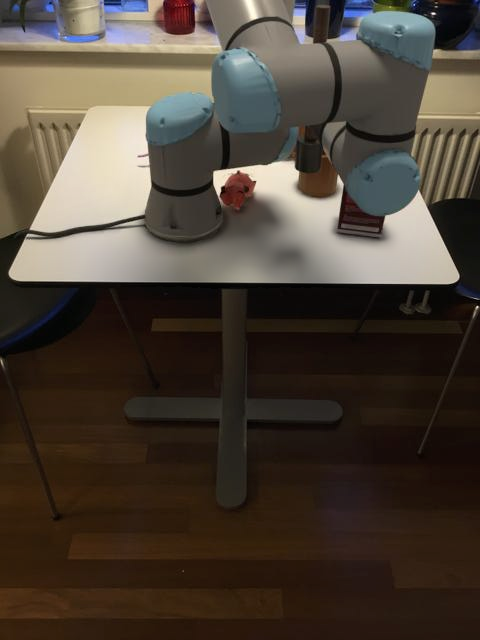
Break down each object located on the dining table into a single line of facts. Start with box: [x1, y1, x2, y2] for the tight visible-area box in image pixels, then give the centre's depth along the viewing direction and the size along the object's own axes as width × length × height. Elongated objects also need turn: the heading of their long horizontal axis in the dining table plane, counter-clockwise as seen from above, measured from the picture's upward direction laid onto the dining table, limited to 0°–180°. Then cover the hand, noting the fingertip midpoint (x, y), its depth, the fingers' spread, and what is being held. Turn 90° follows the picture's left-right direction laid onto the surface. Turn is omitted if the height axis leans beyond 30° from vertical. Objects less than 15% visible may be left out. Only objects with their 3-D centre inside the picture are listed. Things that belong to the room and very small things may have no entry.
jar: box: [297, 151, 339, 198], centre depth 118 cm, size 8×8×9 cm
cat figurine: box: [218, 170, 257, 211], centre depth 113 cm, size 7×7×12 cm
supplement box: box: [336, 184, 386, 238], centre depth 104 cm, size 9×5×16 cm, turn 78°
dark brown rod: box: [294, 4, 331, 173], centre depth 86 cm, size 4×4×24 cm
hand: (307, 75), depth 89 cm, fingers closed on dark brown rod, 2 cm apart
